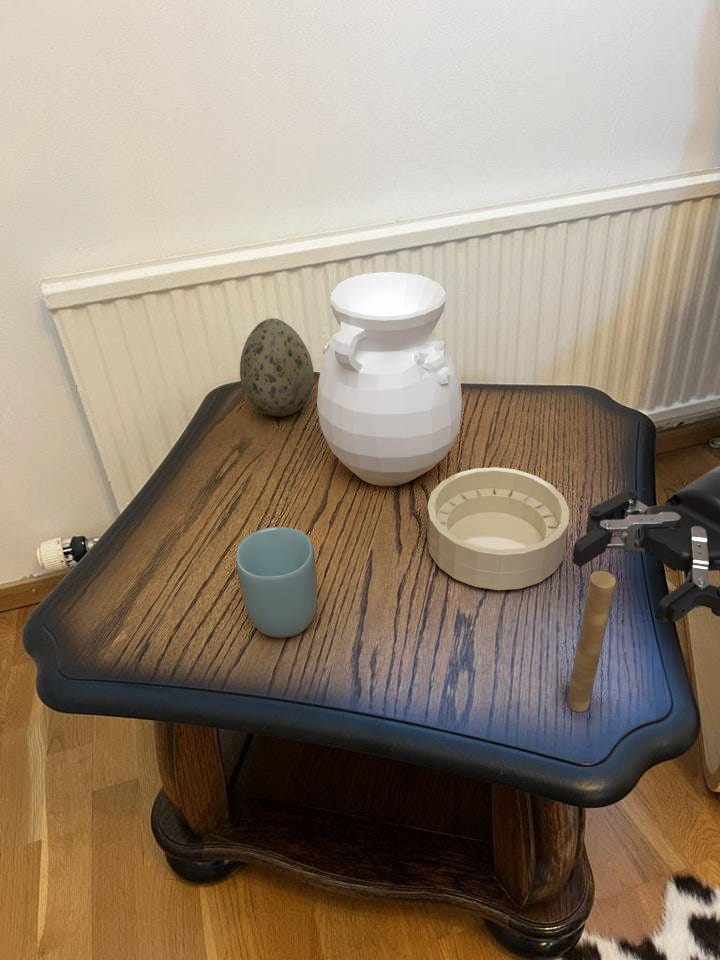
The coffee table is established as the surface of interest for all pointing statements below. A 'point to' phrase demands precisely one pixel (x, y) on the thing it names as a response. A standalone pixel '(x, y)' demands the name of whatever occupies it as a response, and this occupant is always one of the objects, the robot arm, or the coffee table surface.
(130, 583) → the coffee table surface
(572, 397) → the coffee table surface
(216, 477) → the coffee table surface
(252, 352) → the decorative egg
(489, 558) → the bowl
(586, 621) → the stick
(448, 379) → the white vase
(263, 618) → the cup
